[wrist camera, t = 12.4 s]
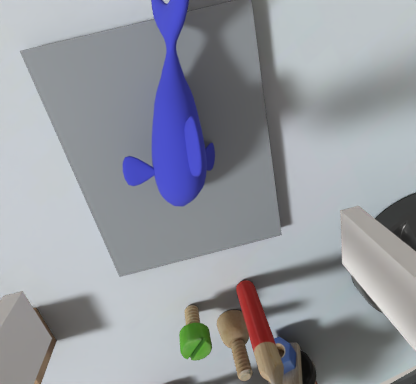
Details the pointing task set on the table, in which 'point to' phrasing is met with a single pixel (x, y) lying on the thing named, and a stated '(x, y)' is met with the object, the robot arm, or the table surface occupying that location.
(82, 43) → the slate plate
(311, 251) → the table surface
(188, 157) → the fish toy
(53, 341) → the walnut block
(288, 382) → the toy construction set
